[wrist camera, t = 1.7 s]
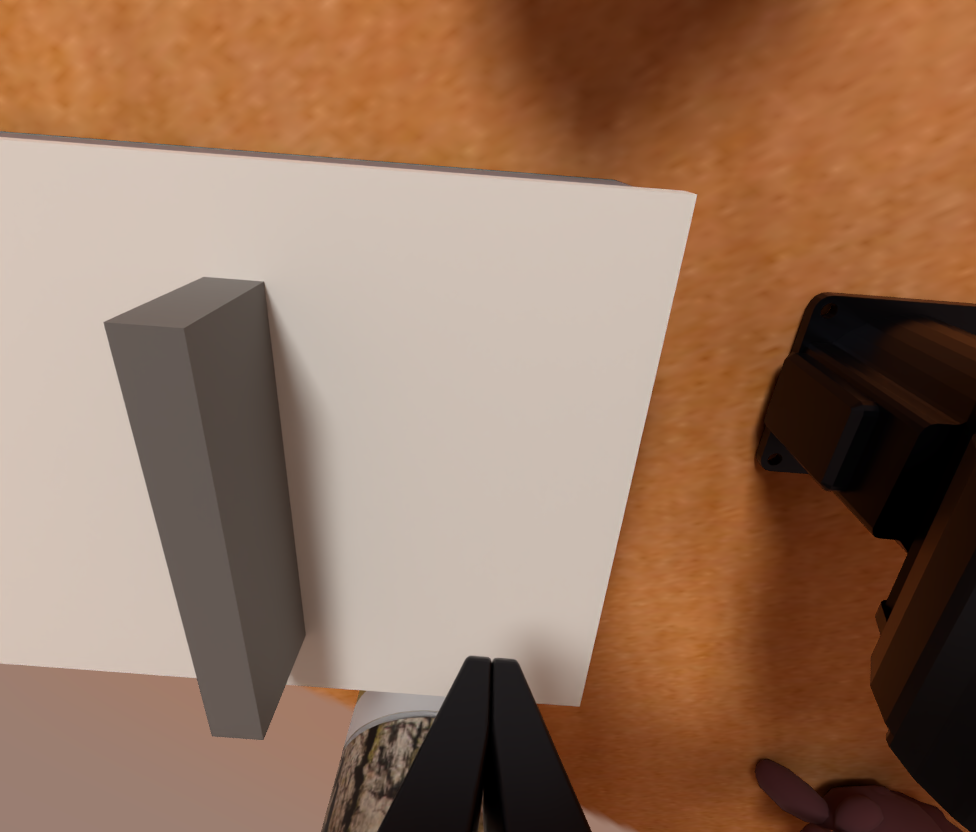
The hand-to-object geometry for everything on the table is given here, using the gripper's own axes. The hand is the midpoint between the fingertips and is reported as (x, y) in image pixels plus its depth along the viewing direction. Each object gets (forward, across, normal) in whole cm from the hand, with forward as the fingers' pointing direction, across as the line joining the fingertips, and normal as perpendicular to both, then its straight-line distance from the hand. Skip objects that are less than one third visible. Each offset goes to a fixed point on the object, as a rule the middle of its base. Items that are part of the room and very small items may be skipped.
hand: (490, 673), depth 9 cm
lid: (+5, +7, 0) cm, 9 cm away
